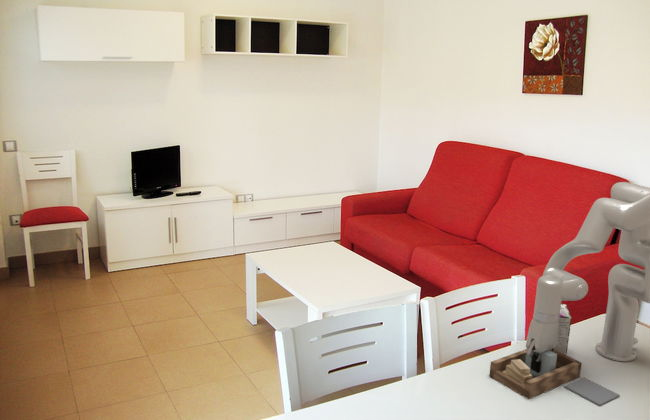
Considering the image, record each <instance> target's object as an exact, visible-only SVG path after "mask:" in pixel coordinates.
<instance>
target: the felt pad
mask: <svg viewBox="0 0 650 420" xmlns="http://www.w3.org/2000/svg"><path fill="white" fill-rule="evenodd" d="M563 388H564V389H566V390H568V391H570V392H572V393H574V394H576V395H577V396H579V397H581V398H583V399H584V400H587V401H588V402H590V403H592V404H594V405H597V406H598V407H601V406H603V405H605V404H607V403H610V402H612V401H614V400H617V399H618V398H620V394H618V393H617V392H615V391H612V390H611V389H609V388H607V387H605V386H603V385H601V384H599V383H598V382H597V383H596V382H594V381H593V380H590V379H589V378H587V377H584V376H583V377H582V378H578V379H577V380H575V381H574V380H573V381H572V382H569V383H566V384H565V385H564V387H563Z"/></svg>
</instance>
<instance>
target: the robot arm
mask: <svg viewBox="0 0 650 420" xmlns="http://www.w3.org/2000/svg"><path fill="white" fill-rule="evenodd" d="M614 229H618V230H619V231H620V232H621V233H620V238H619V243H618V250H617V253H618V255H619V257H620V258H621V260H624V262H625V261H626V262H628V263H630V264H627V263H618V264H616V265H614V266H613V267H611V269H610V270H609V273H608V276H607V277H608V278H607V279H608V280H607V283H608V299H607V306H606V312H605V319H604V324H603V332H602V338H601V341H600V342H599V343H597V344H596V346H595V350H596V352H597V353H598V354H599V355H600V356H602V357H604V358H607V359H610V360H613V361H617V362H631V361H634V360H635V359H636V358H637V352H636V351H635V350H634V348H633V347H634V345H636V344H638V342H639V339H637V337H635V334H636V327H637V323H638V317H639V312H640V311H639V309H640V306H639V301H641V302H643V303H646V304H650V186H644V185H640V184H637V183H632V182H628V181H620V182H616V183H614V184H612V187H611V189H610V198H609V197H601V198H598V199H596V200H595V201H594V202H593V204H592V206H591V207H590V209H589V211H588V213H587V214H586V218H585V219H584V221H583V223H582V225H581V227H580V229H579V231H578V233H577V235H576V237H575V238H574V239H573V240H571V241H568V242H567V243H566V244H564V245H563V246H561V247H560V248H559V249H557V250H556V251H555V252H554V253H553V254H552V255H551V257H550V259H549V261H548V262H547V263H546V266H545V268H544V270H543V274H542V276H540V277H539V278H538V279H537V282H536V283H537V284H536V293H535V300H534V301H535V302H534V309H533V315H532V316H533V317H532V319H531V321H530V324H529V328H528V331H527V338H526V341H525V343H526V344H525V347H526V348H525V349H527V348H528V350H527V353H526V354H528V355H529V356H530V357H531V358H532V359H531V367H530V368H531V370H533V371H535V372H537V373H539V372H540V367H541V361H540V358H541V354H542V352H544V351H547V350H550V351H552V352H553V350H554V348H555V347H556V346H557V342H558V336H559V316H560V309H561V304H562V302H563V301H571V302H573V301H579V300H582V299H583V298H585V297H586V295H588V292H589V285H588V283H587V282H586V280H585V279H583V278H582V277H580V276H577V275H574V274H572V273H570V272H568V271H566V270H564V269H565V267H566V266H567V264H569V262H570V261H572V260H573V259H574V258H577V257H579V256H582V255H583V256H584V255H589V254H596V253H601V252H602V251H603V250H604V248H605V246H606V244H607V242H608V240H609V239H610V236H611V235H612V233H613V230H614ZM631 264H634V265H636V266H637V267H636V266H634V265H631ZM639 267H641V268H644V269H645V270H644V269H641V268H639ZM638 300H639V301H638ZM535 352H536V353H538V355H536V354H535Z"/></svg>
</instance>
